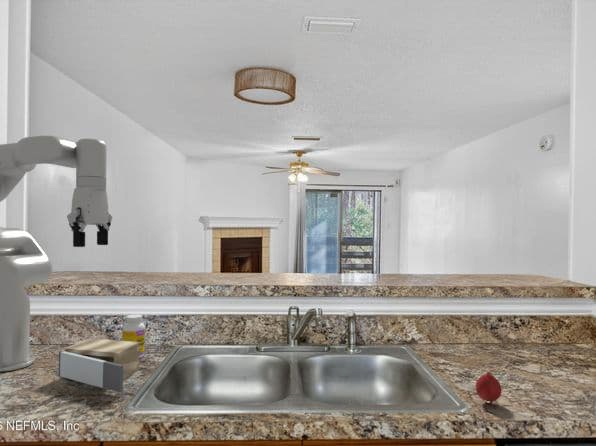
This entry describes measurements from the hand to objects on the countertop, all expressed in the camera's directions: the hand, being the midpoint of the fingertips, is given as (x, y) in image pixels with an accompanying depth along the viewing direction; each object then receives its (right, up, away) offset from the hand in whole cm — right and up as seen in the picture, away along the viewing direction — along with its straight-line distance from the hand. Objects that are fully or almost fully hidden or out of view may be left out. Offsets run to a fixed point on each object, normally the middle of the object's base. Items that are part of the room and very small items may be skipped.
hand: (91, 245), depth 115 cm
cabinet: (+3, -36, 0) cm, 36 cm away
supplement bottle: (+6, -36, +15) cm, 39 cm away
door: (+4, -35, -9) cm, 36 cm away
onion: (+104, -38, -13) cm, 112 cm away
